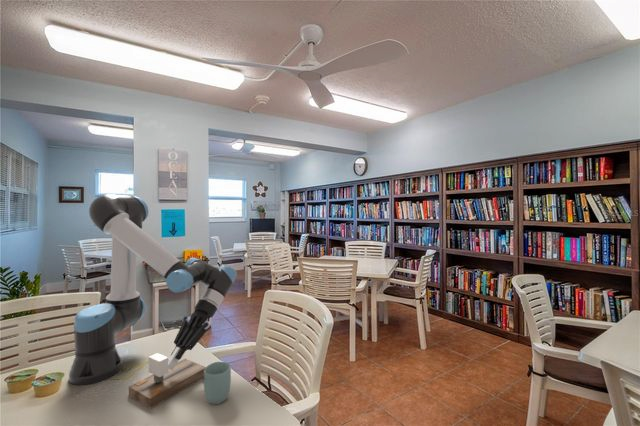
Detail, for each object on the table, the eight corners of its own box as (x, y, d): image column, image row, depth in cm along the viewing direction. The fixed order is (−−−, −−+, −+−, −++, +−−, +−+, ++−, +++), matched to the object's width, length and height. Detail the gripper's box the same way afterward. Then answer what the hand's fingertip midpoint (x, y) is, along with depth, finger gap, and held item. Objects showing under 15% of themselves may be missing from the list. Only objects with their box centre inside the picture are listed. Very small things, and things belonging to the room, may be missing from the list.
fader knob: (148, 380, 97) (148, 356, 97) (157, 375, 100) (157, 352, 99) (159, 385, 94) (159, 361, 94) (168, 380, 96) (168, 357, 96)
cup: (222, 409, 88) (222, 376, 88) (199, 406, 89) (198, 373, 89) (235, 393, 95) (235, 362, 95) (213, 390, 97) (213, 360, 97)
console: (128, 395, 95) (128, 385, 94) (185, 366, 112) (185, 358, 112) (150, 408, 88) (150, 398, 88) (206, 375, 106) (206, 366, 106)
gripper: (226, 311, 111) (188, 377, 98) (203, 305, 118) (164, 367, 104) (215, 301, 107) (172, 369, 93) (191, 295, 113) (148, 358, 99)
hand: (168, 368), depth 98 cm, fingers closed
